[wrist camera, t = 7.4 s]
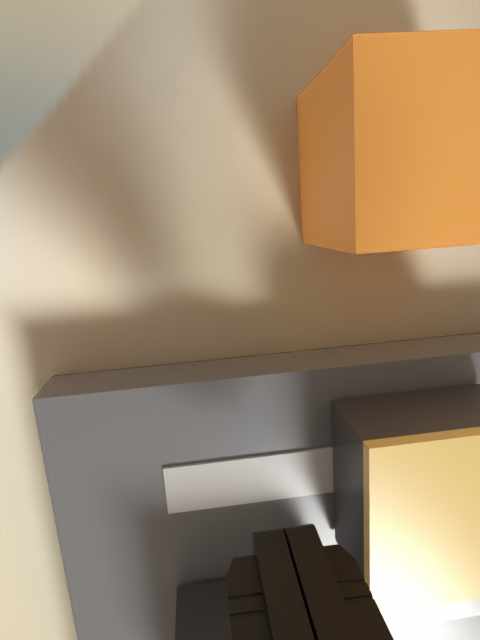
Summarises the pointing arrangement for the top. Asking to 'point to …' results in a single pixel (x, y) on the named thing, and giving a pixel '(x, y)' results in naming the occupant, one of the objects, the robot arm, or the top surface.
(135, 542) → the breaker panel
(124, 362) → the top surface
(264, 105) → the top surface
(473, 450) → the block
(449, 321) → the top surface
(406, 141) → the orange rectangular block
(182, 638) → the block
